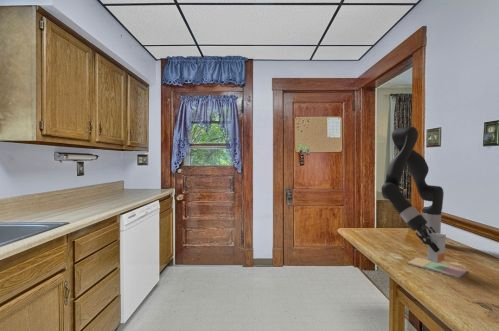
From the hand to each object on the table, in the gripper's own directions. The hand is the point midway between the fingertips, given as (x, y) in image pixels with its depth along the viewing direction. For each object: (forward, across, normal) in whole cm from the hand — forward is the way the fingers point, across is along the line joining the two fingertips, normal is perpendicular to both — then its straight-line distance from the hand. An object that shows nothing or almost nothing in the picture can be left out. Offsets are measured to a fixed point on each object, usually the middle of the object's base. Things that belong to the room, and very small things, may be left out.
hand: (440, 249), depth 124 cm
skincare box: (+3, 0, +5) cm, 6 cm away
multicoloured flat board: (+5, 0, +7) cm, 9 cm away
